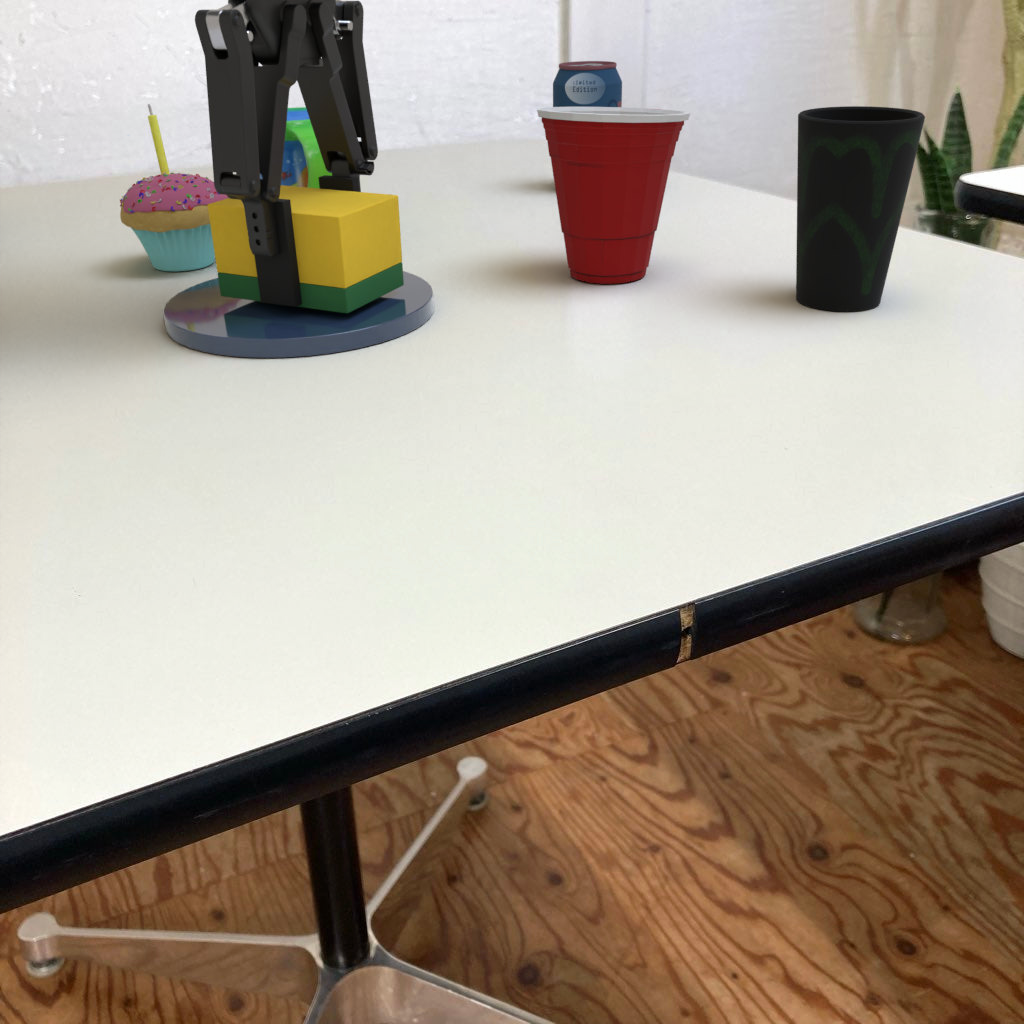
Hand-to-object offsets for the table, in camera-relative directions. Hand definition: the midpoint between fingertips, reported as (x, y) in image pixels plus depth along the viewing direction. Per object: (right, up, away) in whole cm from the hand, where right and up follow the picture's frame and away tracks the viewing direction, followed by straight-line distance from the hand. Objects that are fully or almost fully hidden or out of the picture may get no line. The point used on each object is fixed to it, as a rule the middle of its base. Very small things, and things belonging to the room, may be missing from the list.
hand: (315, 287), depth 70 cm
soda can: (+21, +19, +39) cm, 48 cm away
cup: (+35, -1, +2) cm, 35 cm away
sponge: (0, 0, 0) cm, 0 cm away
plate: (-1, -2, +1) cm, 2 cm away
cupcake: (-13, +5, +14) cm, 20 cm away
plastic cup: (+20, +3, +9) cm, 23 cm away
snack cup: (-5, +9, +23) cm, 25 cm away
